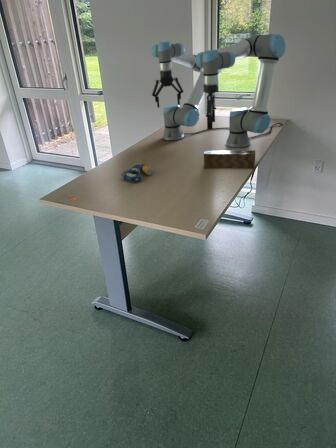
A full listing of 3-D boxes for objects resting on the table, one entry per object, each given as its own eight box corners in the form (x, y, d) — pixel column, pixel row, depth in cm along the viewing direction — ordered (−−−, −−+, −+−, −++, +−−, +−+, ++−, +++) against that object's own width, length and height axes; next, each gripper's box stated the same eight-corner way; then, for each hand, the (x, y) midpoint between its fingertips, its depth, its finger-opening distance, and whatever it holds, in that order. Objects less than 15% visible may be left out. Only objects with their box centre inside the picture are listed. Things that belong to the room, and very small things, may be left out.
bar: (254, 164, 192) (255, 150, 188) (254, 168, 188) (255, 153, 183) (205, 164, 199) (205, 150, 194) (204, 168, 194) (203, 153, 190)
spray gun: (158, 169, 197) (136, 167, 203) (157, 162, 194) (135, 160, 201) (140, 184, 181) (118, 182, 188) (139, 177, 179) (116, 175, 185)
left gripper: (147, 73, 200) (150, 109, 211) (187, 68, 204) (188, 104, 215) (145, 71, 206) (148, 107, 217) (183, 67, 210) (185, 102, 221)
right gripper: (206, 80, 183) (207, 119, 194) (200, 88, 163) (201, 132, 174) (220, 79, 181) (220, 119, 192) (215, 88, 161) (215, 131, 172)
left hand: (168, 105), depth 216 cm, fingers open, 13 cm apart
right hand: (211, 125), depth 183 cm, fingers open, 13 cm apart
